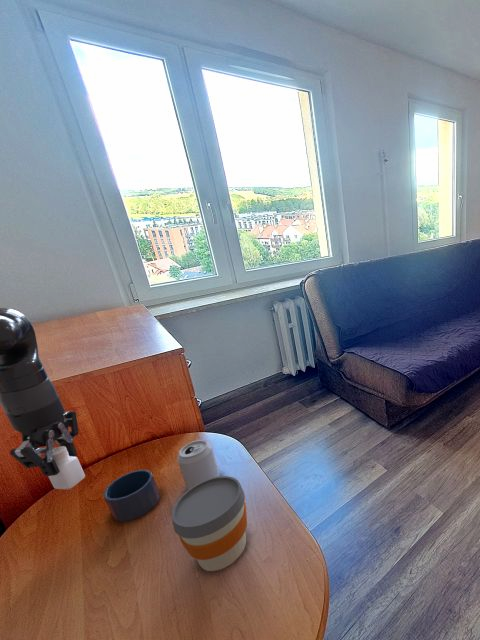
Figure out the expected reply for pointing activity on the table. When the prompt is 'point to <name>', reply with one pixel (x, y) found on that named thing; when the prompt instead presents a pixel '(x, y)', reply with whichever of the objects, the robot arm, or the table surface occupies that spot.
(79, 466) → the salt shaker
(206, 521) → the reusable coffee cup
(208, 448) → the can
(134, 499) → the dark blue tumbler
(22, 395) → the robot arm
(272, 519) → the table surface
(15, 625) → the table surface
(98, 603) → the table surface
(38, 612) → the table surface
